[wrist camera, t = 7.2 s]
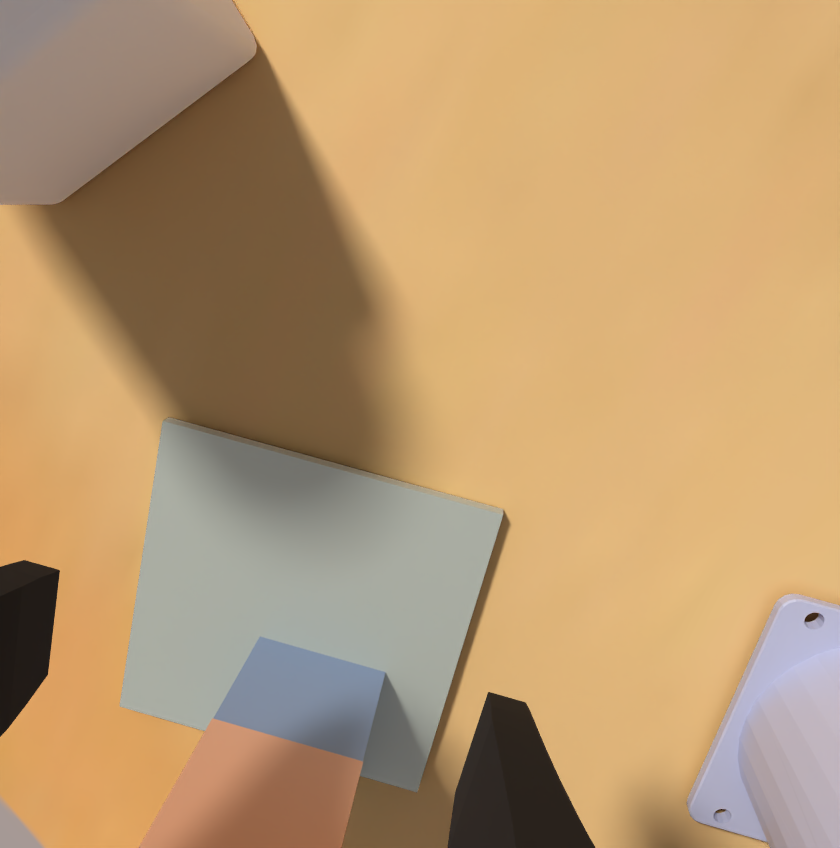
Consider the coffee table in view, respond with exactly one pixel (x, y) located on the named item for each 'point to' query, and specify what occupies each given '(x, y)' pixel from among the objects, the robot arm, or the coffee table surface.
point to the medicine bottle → (101, 82)
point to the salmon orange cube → (256, 794)
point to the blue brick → (304, 698)
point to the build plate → (302, 583)
